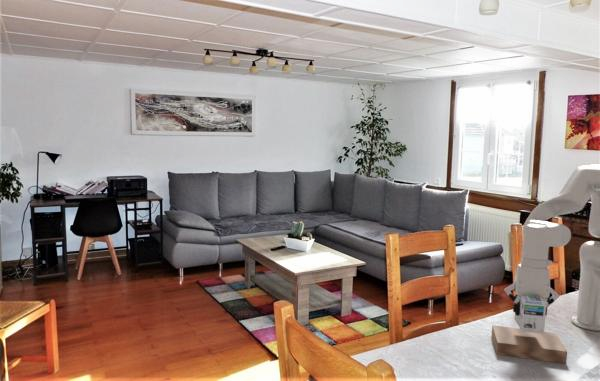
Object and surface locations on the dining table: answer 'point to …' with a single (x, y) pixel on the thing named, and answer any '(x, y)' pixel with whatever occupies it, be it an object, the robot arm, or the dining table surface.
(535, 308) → the light bulb box
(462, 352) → the dining table surface
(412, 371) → the dining table surface
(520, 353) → the block
